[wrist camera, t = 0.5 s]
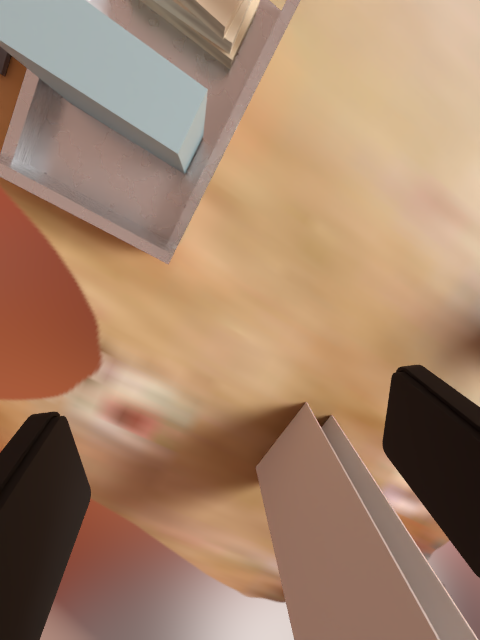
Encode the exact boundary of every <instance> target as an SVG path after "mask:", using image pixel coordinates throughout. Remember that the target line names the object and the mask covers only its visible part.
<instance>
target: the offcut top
mask: <svg viewBox="0 0 480 640" xmlns="http://www.w3.org/2000/svg"><path fill="white" fill-rule="evenodd" d="M178 1H179V2H180V3H182V4H183V5H184V6H185V7H186V8H187V9H188V10H190V11H191V12H192V13H193V14H194V15H195V16H196V17H197V18H199V19H200V20H201V21H202V22H203V23H204V24H205V25H207V26H208V27H209V28H210V29H211V30H212V31H213V32H214V33H216V34H217V35H218V36H219V37H220V38H221V39H222V40H223V39H224V37H225V35H226V34H227V32H228V30H229V28H230V26H231V24H232V22H233V20H234V18H235V16H236V14H237V12H238V10H239V8H240V6H241V5H242V3H243V1H244V0H178Z"/></svg>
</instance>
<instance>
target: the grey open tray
mask: <svg viewBox="0 0 480 640" xmlns="http://www.w3.org/2000/svg"><path fill="white" fill-rule="evenodd" d="M86 1H87V2H88V3H90V4H91V5H93V6H94V7H95V8H97V9H98V10H99V11H101V12H102V13H104V14H105V15H106V16H108V17H109V18H110V19H112V20H113V21H115V22H116V23H117V24H119V25H120V26H121V27H123V28H124V29H125V30H127V31H128V32H130V33H131V34H132V35H134V36H135V37H136V38H138V39H139V40H141V41H142V42H143V43H145V44H146V45H147V46H149V47H150V48H152V49H153V50H154V51H156V52H157V53H158V54H160V55H161V56H163V57H164V58H165V59H167V60H168V61H169V62H171V63H172V64H174V65H175V66H176V67H178V68H179V69H180V70H182V71H183V72H185V73H186V74H187V75H189V76H190V77H191V78H193V79H194V80H196V81H197V82H198V83H200V84H201V85H202V86H204V87H205V88H207V89H208V92H207V102H206V113H205V123H204V133H203V139H202V141H201V143H200V145H199V147H198V150H197V152H196V154H195V156H194V158H193V160H192V162H191V164H190V166H189V168H188V171H187V173H186V175H185V174H183V173H182V172H180V171H178V170H177V169H175V168H174V167H172V166H170V165H169V164H167V163H166V162H164V161H162V160H161V159H159V158H158V157H156V156H154V155H153V154H151V153H150V152H148V151H146V150H145V149H143V148H141V147H140V146H138V145H137V144H135V143H133V142H132V141H130V140H129V139H127V138H125V137H124V136H122V135H121V134H119V133H117V132H116V131H114V130H113V129H111V128H109V127H108V126H106V125H105V124H103V123H101V122H100V121H98V120H96V119H95V118H93V117H92V116H90V115H88V114H87V113H85V112H84V111H82V110H80V109H79V108H77V107H76V106H74V105H72V104H71V103H69V102H68V101H67V100H66V99H65V98H63V97H62V96H61V95H60V94H58V93H57V92H56V91H55V90H53V89H52V88H51V87H50V86H48V85H47V84H46V83H45V82H44V81H42V80H41V79H40V78H39V77H37V76H36V75H35V74H34V73H32V72H31V71H30V70H29V69H27V70H26V73H25V77H24V80H23V83H22V86H21V89H20V93H19V96H18V99H17V102H16V105H15V109H14V112H13V115H12V118H11V121H10V124H9V128H8V131H7V134H6V137H5V140H4V144H3V147H2V150H1V153H0V177H2V178H3V179H5V180H7V181H9V182H11V183H13V184H15V185H17V186H19V187H21V188H23V189H25V190H27V191H28V192H30V193H32V194H34V195H36V196H38V197H40V198H42V199H44V200H46V201H48V202H50V203H52V204H53V205H55V206H57V207H59V208H61V209H63V210H65V211H67V212H69V213H71V214H73V215H75V216H77V217H78V218H80V219H82V220H84V221H86V222H88V223H90V224H92V225H94V226H96V227H98V228H100V229H102V230H103V231H105V232H107V233H109V234H111V235H113V236H115V237H117V238H119V239H121V240H123V241H125V242H127V243H128V244H130V245H132V246H134V247H136V248H138V249H140V250H142V251H144V252H146V253H148V254H150V255H152V256H153V257H155V258H157V259H159V260H161V261H163V262H165V263H167V264H169V262H170V260H171V258H172V256H173V254H174V252H175V250H176V248H177V246H178V244H179V242H180V240H181V238H182V236H183V234H184V232H185V230H186V228H187V226H188V224H189V222H190V220H191V218H192V216H193V214H194V212H195V210H196V208H197V206H198V204H199V202H200V200H201V198H202V196H203V194H204V192H205V190H206V188H207V186H208V184H209V182H210V180H211V178H212V176H213V174H214V172H215V170H216V168H217V166H218V164H219V162H220V160H221V158H222V156H223V154H224V152H225V150H226V148H227V146H228V144H229V142H230V140H231V138H232V136H233V134H234V132H235V130H236V128H237V126H238V124H239V122H240V120H241V118H242V116H243V114H244V112H245V110H246V108H247V106H248V104H249V102H250V100H251V98H252V96H253V94H254V92H255V90H256V88H257V86H258V84H259V82H260V80H261V78H262V76H263V74H264V72H265V70H266V68H267V66H268V64H269V62H270V60H271V58H272V56H273V54H274V52H275V50H276V48H277V46H278V44H279V42H280V40H281V38H282V36H283V34H284V32H285V30H286V28H287V26H288V24H289V22H290V20H291V18H292V16H293V14H294V12H295V10H296V8H297V6H298V4H299V2H300V0H287V1H286V3H285V5H284V7H283V9H282V11H281V10H280V9H279V8H277V7H276V6H275V5H274V4H273V3H272V2H271V1H269V0H260V2H259V6H258V9H257V12H256V15H255V17H254V19H253V21H252V23H251V25H250V27H249V30H248V32H247V34H246V36H245V38H244V40H243V42H242V44H241V46H240V49H239V51H238V53H237V55H236V57H235V59H234V61H233V63H232V66H231V68H230V69H229V68H227V67H226V66H225V65H224V64H222V63H221V62H220V61H218V60H217V59H216V58H214V57H213V56H212V55H211V54H209V53H208V52H207V51H205V50H204V49H203V48H201V47H200V46H199V45H198V44H196V43H195V42H194V41H192V40H191V39H190V38H188V37H187V36H186V35H184V34H183V33H182V32H181V31H179V30H178V29H177V28H175V27H174V26H173V25H171V24H170V23H169V22H168V21H166V20H165V19H164V18H162V17H161V16H160V15H158V14H157V13H156V12H155V11H153V10H152V9H151V8H149V7H148V6H147V5H145V4H144V3H143V2H142V1H140V0H86Z"/></svg>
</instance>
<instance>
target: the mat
mask: <svg viewBox="0 0 480 640" xmlns="http://www.w3.org/2000/svg"><path fill="white" fill-rule="evenodd" d="M10 58H11V55H10V54H9V53H8V52H7V51H5V50H4V49H3V48H2V47H0V74H2V75H3V76H5V74H6V71H7V68H8V64H9V61H10Z"/></svg>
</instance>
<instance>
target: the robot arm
mask: <svg viewBox="0 0 480 640" xmlns="http://www.w3.org/2000/svg"><path fill="white" fill-rule="evenodd" d="M383 449H384V452H385V454H386V455H387V457H388V458H389V460H390V461H391V462H392V464H393V465H394V466H395V468H396V469H397V470H398V472H399V473H400V474H401V476H402V477H403V478H404V480H405V481H406V482H407V484H408V485H409V486H410V488H411V489H412V490H413V492H414V493H415V494H416V496H417V497H418V498H419V500H420V501H421V502H422V504H423V505H424V506H425V508H426V509H427V510H428V512H429V513H430V514H431V516H432V517H433V518H434V520H435V521H436V522H437V524H438V525H439V526H440V528H441V529H442V530H443V532H444V533H445V534H446V536H447V537H448V538H449V540H450V541H451V542H452V544H453V545H454V546H455V548H456V549H457V550H458V552H459V553H460V554H461V556H462V557H463V558H464V559H465V561H466V562H467V563H468V565H469V566H470V567H471V569H472V570H473V572H474V573H475V574H476V575H477V576H478V577H480V407H479V406H477V405H476V404H474V403H473V402H472V401H470V400H469V399H468V398H466V397H465V396H463V395H462V394H461V393H459V392H458V391H456V390H455V389H454V388H452V387H451V386H450V385H448V384H447V383H445V382H444V381H443V380H441V379H440V378H438V377H437V376H436V375H434V374H433V373H432V372H430V371H429V370H427V369H426V368H425V367H423V366H421V365H411V366H404V367H399V368H398V369H397V371H396V373H393V375H392V378H391V386H390V393H389V400H388V407H387V414H386V421H385V428H384V435H383ZM90 497H91V490H90V486H89V483H88V480H87V477H86V474H85V471H84V468H83V465H82V462H81V459H80V456H79V453H78V450H77V447H76V444H75V441H74V438H73V435H72V432H71V430H70V427H69V424H68V421H67V419H66V417H65V416H60V414H59V413H58V412H48V413H40V414H33V415H31V416H30V417H28V419H27V420H26V421H25V422H24V424H23V425H22V426H21V427H20V429H19V430H18V431H17V432H16V434H15V435H14V436H13V437H12V439H11V440H10V441H9V443H8V444H7V445H6V446H5V448H4V449H3V450H2V451H1V453H0V640H40V637H41V634H42V631H43V629H44V626H45V623H46V620H47V618H48V615H49V612H50V610H51V607H52V604H53V601H54V599H55V596H56V593H57V590H58V587H59V585H60V582H61V579H62V577H63V574H64V571H65V568H66V566H67V563H68V560H69V557H70V554H71V552H72V549H73V546H74V543H75V541H76V538H77V535H78V532H79V530H80V527H81V524H82V521H83V519H84V516H85V513H86V510H87V508H88V505H89V502H90Z"/></svg>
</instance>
